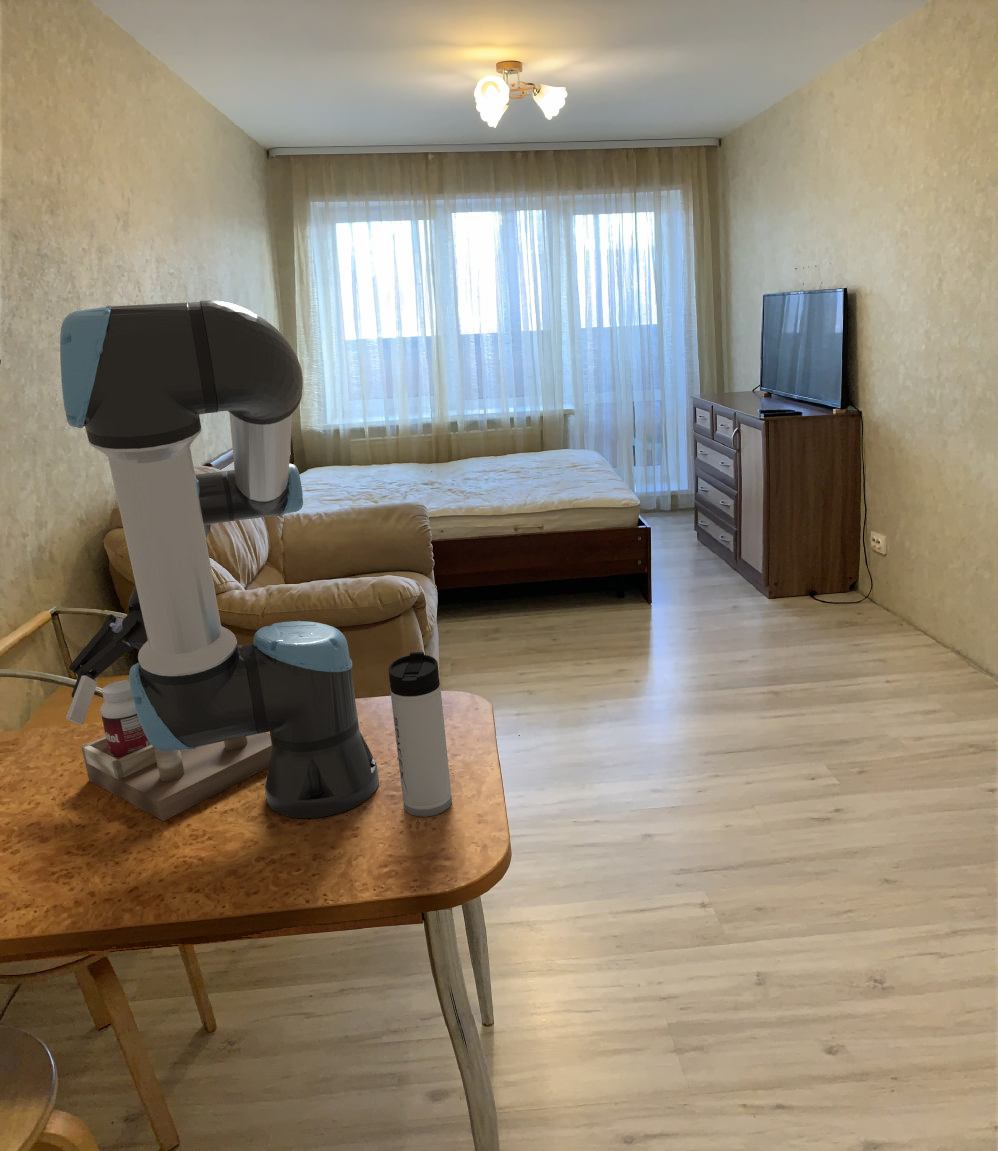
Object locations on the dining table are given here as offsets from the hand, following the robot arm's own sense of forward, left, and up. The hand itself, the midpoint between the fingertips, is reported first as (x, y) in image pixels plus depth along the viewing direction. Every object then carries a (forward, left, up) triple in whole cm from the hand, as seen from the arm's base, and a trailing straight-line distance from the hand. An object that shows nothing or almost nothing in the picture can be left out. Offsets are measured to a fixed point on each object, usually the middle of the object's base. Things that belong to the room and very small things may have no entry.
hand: (113, 724), depth 124 cm
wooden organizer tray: (-4, -7, -9) cm, 13 cm away
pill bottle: (+1, -2, -6) cm, 7 cm away
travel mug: (-41, -19, -9) cm, 47 cm away
